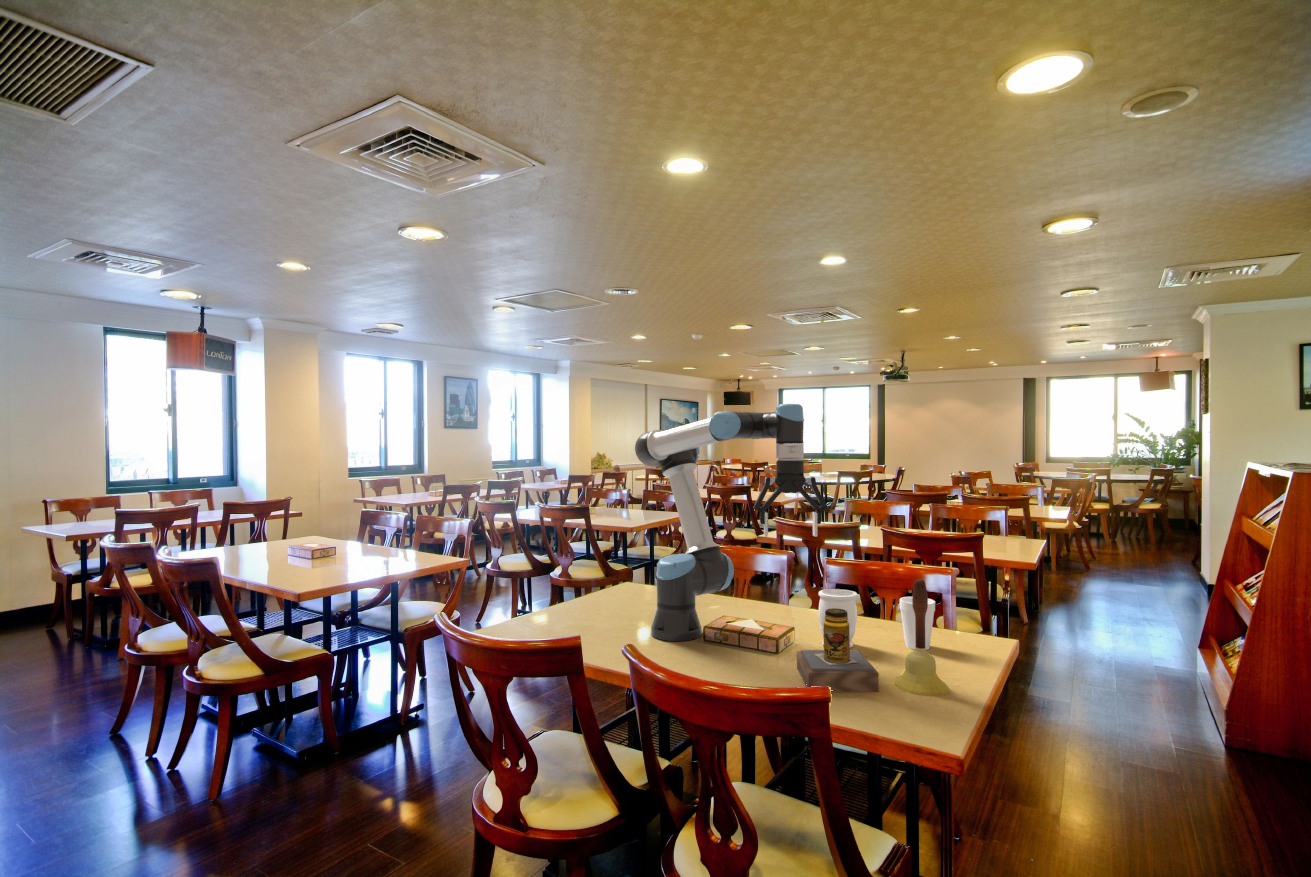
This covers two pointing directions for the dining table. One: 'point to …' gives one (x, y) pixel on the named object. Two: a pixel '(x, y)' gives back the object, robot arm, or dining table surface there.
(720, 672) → the dining table surface
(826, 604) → the jar
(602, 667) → the dining table surface
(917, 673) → the handbell
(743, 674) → the dining table surface
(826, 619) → the condiment
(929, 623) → the foam cup
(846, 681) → the stand
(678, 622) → the robot arm
